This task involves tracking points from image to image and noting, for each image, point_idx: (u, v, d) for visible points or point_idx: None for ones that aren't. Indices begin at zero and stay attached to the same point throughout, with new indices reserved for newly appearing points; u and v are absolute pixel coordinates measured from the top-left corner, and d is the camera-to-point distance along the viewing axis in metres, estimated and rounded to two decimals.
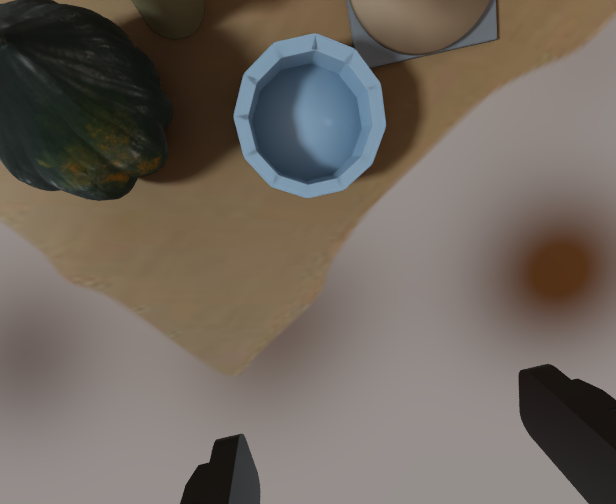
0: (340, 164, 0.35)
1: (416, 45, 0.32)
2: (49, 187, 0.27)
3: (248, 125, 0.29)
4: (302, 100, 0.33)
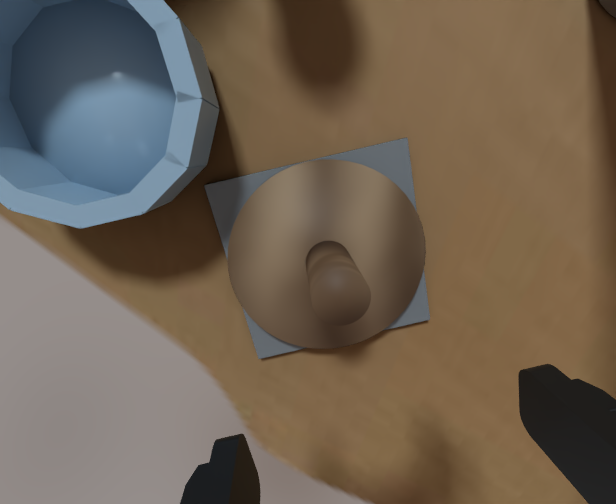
0: (52, 162, 0.21)
1: (236, 263, 0.23)
2: None
3: None
4: (143, 93, 0.20)
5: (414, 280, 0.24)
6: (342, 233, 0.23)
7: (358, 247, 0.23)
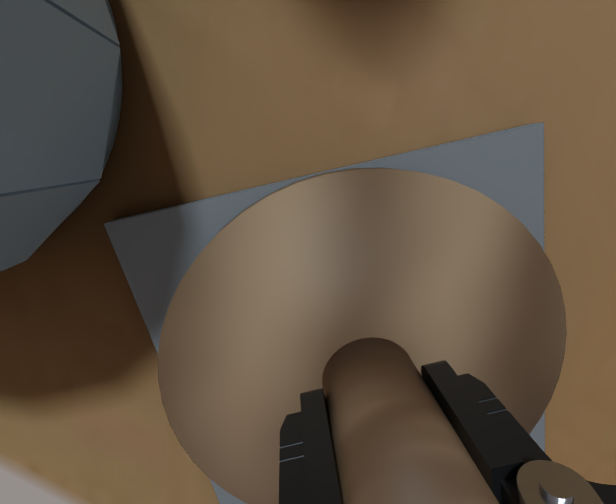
0: None
1: (178, 385, 0.11)
2: None
3: None
4: None
5: (535, 406, 0.12)
6: (400, 323, 0.11)
7: (431, 349, 0.11)
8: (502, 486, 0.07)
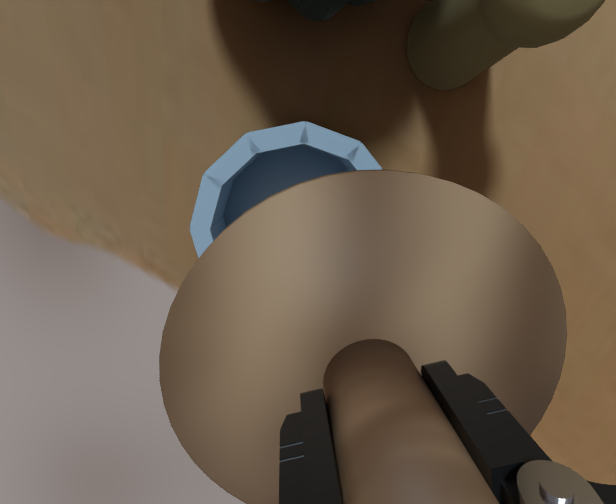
0: None
1: (179, 386, 0.11)
2: None
3: (292, 143, 0.19)
4: None
5: (536, 407, 0.12)
6: (401, 324, 0.11)
7: (432, 350, 0.11)
8: (503, 486, 0.07)
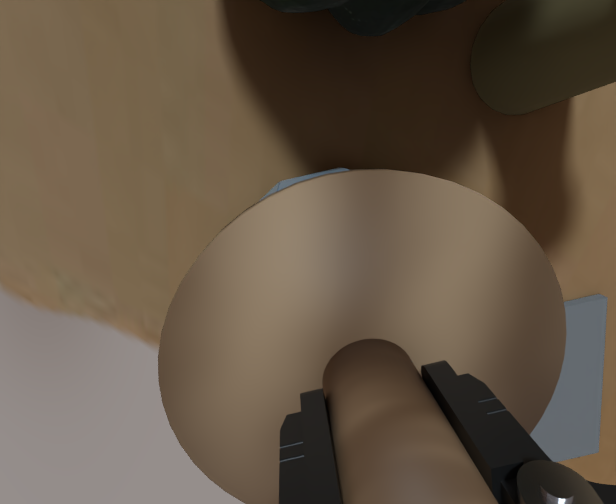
0: None
1: (178, 386, 0.11)
2: None
3: None
4: None
5: (535, 407, 0.12)
6: (400, 324, 0.11)
7: (431, 350, 0.11)
8: (502, 486, 0.07)
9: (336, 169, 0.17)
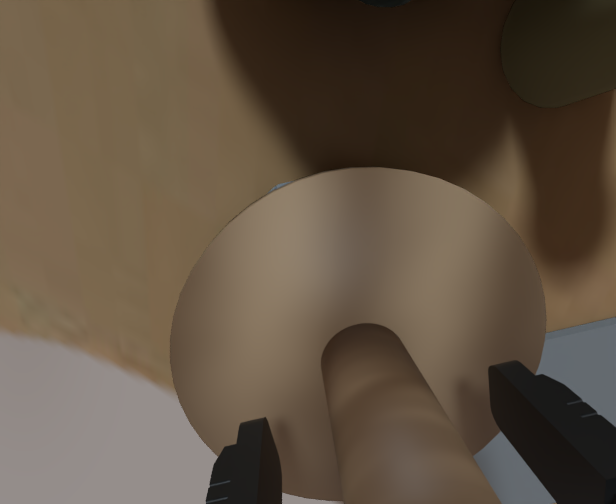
0: None
1: (188, 367, 0.12)
2: None
3: None
4: None
5: None
6: (393, 309, 0.12)
7: (421, 334, 0.12)
8: (615, 498, 0.06)
9: None
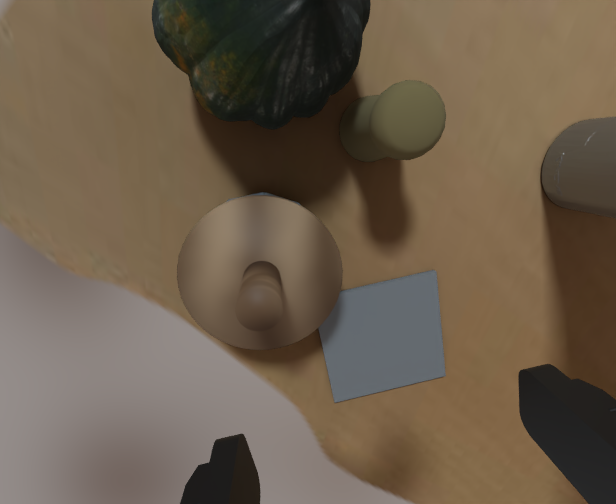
0: None
1: (184, 279, 0.28)
2: None
3: None
4: None
5: (334, 293, 0.30)
6: (272, 255, 0.28)
7: (286, 266, 0.28)
8: None
9: (259, 193, 0.31)
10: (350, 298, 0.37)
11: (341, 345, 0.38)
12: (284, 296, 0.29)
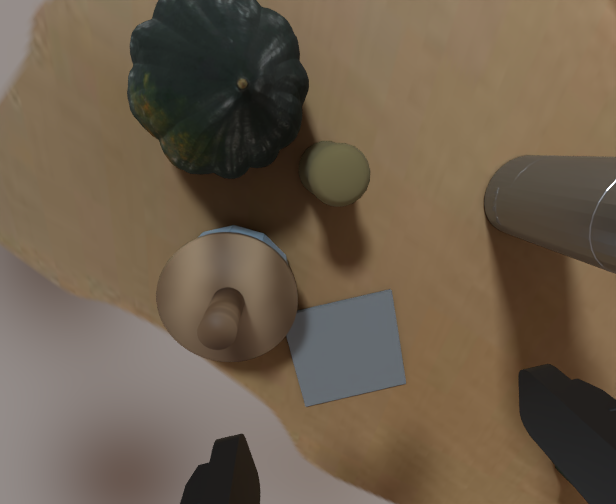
0: None
1: (163, 303, 0.33)
2: (131, 58, 0.25)
3: None
4: None
5: (291, 313, 0.34)
6: (236, 282, 0.33)
7: (249, 291, 0.33)
8: None
9: (229, 227, 0.36)
10: (315, 314, 0.41)
11: (309, 356, 0.43)
12: (248, 316, 0.34)
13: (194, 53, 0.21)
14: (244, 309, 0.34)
